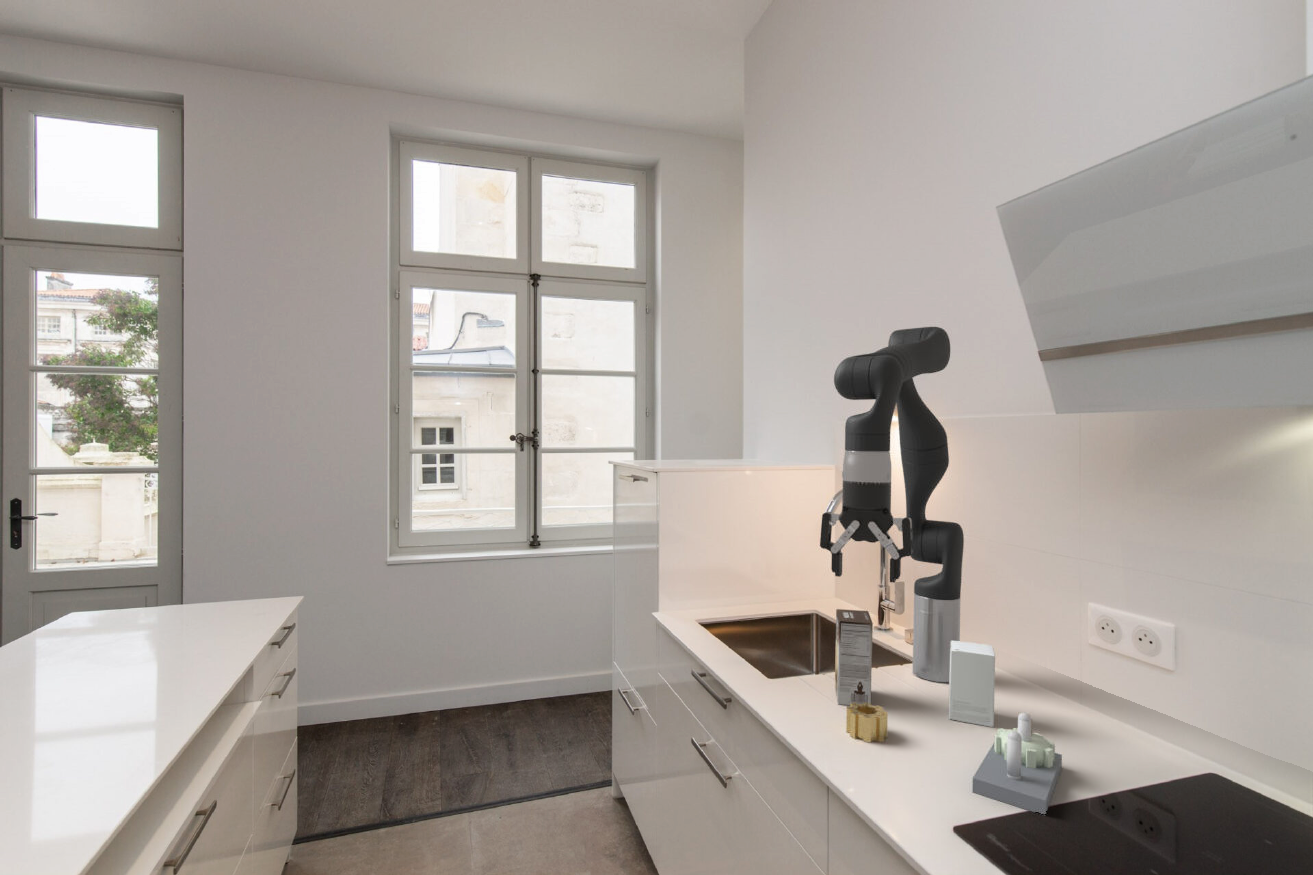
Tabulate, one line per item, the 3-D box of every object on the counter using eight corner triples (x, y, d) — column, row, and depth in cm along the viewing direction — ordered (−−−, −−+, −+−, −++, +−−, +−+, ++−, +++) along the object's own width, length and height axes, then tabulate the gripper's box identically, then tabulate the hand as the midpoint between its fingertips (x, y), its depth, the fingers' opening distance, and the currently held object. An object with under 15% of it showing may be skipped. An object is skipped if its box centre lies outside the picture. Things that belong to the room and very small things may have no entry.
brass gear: (855, 721, 115) (855, 699, 115) (892, 732, 111) (892, 709, 111) (840, 734, 110) (841, 710, 110) (878, 746, 106) (879, 721, 106)
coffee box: (833, 686, 132) (835, 607, 132) (866, 690, 130) (868, 610, 131) (837, 704, 123) (838, 619, 123) (872, 708, 121) (874, 622, 122)
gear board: (997, 749, 106) (998, 697, 106) (1061, 767, 100) (1062, 712, 100) (972, 791, 92) (973, 732, 93) (1045, 815, 87) (1046, 752, 87)
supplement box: (994, 728, 114) (995, 656, 114) (948, 719, 117) (949, 649, 117) (992, 712, 121) (993, 644, 121) (948, 704, 124) (950, 638, 124)
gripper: (916, 479, 105) (914, 579, 105) (828, 476, 112) (826, 569, 112) (910, 482, 99) (908, 588, 99) (817, 478, 105) (815, 577, 105)
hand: (865, 578), depth 105 cm, fingers open, 8 cm apart
